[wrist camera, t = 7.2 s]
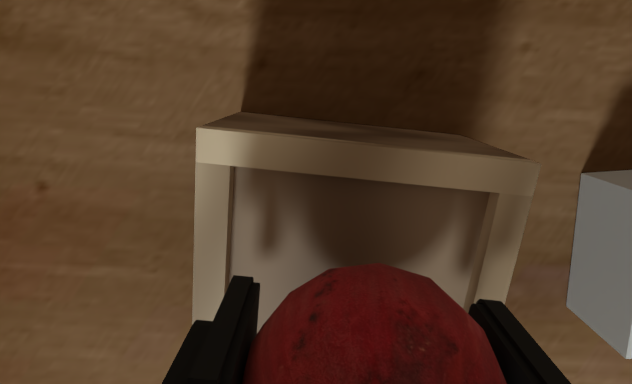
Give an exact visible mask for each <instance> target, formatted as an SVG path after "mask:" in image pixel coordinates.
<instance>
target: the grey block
mask: <svg viewBox="0 0 632 384" xmlns="http://www.w3.org/2000/svg"><path fill="white" fill-rule="evenodd" d="M566 306H567V307H568V308H569V309H570V310H571V311H572V312H574V313H575V314H576V315H577V316H578V317H579V318H580V319H581V320H583V321H584V322H585V323H586V324H587V325H588V326H589V327H590V328H592V329H593V330H594V331H595V332H596V333H597V334H598V335H599V336H601V337H602V338H603V339H604V340H605V341H606V342H607V343H608V344H610V345H611V346H612V347H613V348H614V349H615V350H616V351H617V352H619V353H620V354H621V355H622V356H623V357H624V358H625V359H632V170H621V171H606V172H591V173H581V180H580V189H579V198H578V206H577V215H576V224H575V233H574V242H573V250H572V259H571V268H570V277H569V285H568V294H567V303H566Z"/></svg>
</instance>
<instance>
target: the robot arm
mask: <svg viewBox="0 0 632 384" xmlns="http://www.w3.org/2000/svg"><path fill="white" fill-rule="evenodd" d="M259 296H260V283H256V282H254V278H253V277H248V276H238V275H233V277H232V279H231V282H230V284H229V286H228V288H227V291H226V293H225V295H224V297H223V300H222V302H221V304H220V306H219V309H218V311H217V313H216V315H215V318H214V320H213V321H206V320H195V322H194V323H193V325H192V327H191V329H190V331H189V333H188V334H187V336H186V338H185V340H184V342H183V344H182V346H181V348H180V350H179V352H178V354H177V355H176V357H175V359H174V361H173V363H172V365H171V367H170V369H169V371H168V373H167V375H166V377H165V378H164V380H163V382H162V384H242V379H243V374H244V370H245V366H246V362H247V358H248V354H249V349H250V345H251V343H252V341H253V340H254V338H255V336H256V335H257V324H258V310H259ZM468 314H469V315H470V316H471V317H472V318H473V319H474V320H475V321H476V322H477V323H478V324H479V325H480V326H481V327H482V328H483V330H484V332H485V334H486V336H487V338H488V341H489V343H490V345H491V347H492V350H493V352H494V354H495V356H496V359H497V361H498V363H499V366H500V368H501V371H502V373H503V376H504V378H505V380H506V383H507V384H571V383H570V382H569V381H568V379H567V378H566V377H565V376H564V375H563V373H562V372H561V371H560V370H559V369H558V368H557V366H556V365H555V364H554V363H553V362H552V360H551V359H550V358H549V357H548V356H547V355H546V353H545V352H544V351H543V350H542V349H541V347H540V346H539V345H538V344H537V343H536V342H535V340H534V339H533V338H532V337H531V336H530V334H529V333H528V332H527V331H526V330H525V328H524V327H523V326H522V325H521V324H520V323H519V321H518V320H517V319H516V318H515V317H514V315H513V314H512V313H511V312H510V311H509V310H508V308H507V307H506V306H505V305H504V304H503V303H502V302H501V301H496V300H486V299H479V300H478V301H477V302H476V304H475V303H473V304H471V306H470V308H469V312H468Z"/></svg>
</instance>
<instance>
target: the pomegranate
mask: <svg viewBox="0 0 632 384" xmlns="http://www.w3.org/2000/svg"><path fill="white" fill-rule="evenodd" d="M242 384H507V383H506V380H505V378H504V376H503V373H502V371H501V368H500V366H499V363H498V361H497V359H496V356H495V354H494V352H493V350H492V347H491V345H490V343H489V341H488V338H487V336H486V334H485V332H484V330H483V328H482V327H481V326H480V325H479V324H478V323H477V322H476V321H475V320H474V319H473V318H472V317H471V316H470V315H469V314H468V313H467V312H466V311H465V310H464V309H463V308H462V307H461V306H460V305H459V304H457V303H456V302H455V301H454V300H453V299H452V298H451V297H450V296H449V295H448V294H447V293H446V292H445V291H444V290H442V289H441V288H440V287H439V286H438V285H437V284H436V283H435V282H434V281H433V280H432V279H431V278H429V277H426V276H422V275H419V274H416V273H412V272H409V271H406V270H402V269H399V268H396V267H392V266H389V265H386V264H382V263H373V264H365V265H356V266H348V267H340V268H331V269H328V270H326V271H325V272H323V273H321V274H320V275H318V276H316V277H315V278H313V279H311V280H310V281H308V282H306V283H305V284H303V285H301V286H300V287H298V288H296V289H295V290H293V291H291V292H290V293H289V294H288V295H287V296H286V298H285V299H284V300H283V301H282V302H281V304H280V305H279V306H278V307H277V308H276V310H275V311H274V312H273V313H272V315H271V316H270V317H269V318H268V319H267V321H266V322H265V323H264V324H263V326H262V327H261V329H260V330H259V332H258V333H257V335H256V336H255V338H254V340H253V341H252V343H251V345H250V349H249V354H248V358H247V362H246V366H245V370H244V374H243V379H242Z"/></svg>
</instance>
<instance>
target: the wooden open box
mask: <svg viewBox="0 0 632 384" xmlns="http://www.w3.org/2000/svg"><path fill="white" fill-rule="evenodd" d="M540 168H541V163H538V162H535V161H533V160H530V159H527V158H524V157H521V156H518V155H516V154H513V153H510V152H507V151H504V150H501V149H499V148H496V147H493V146H490V145H487V144H485V143H482V142H479V141H476V140H473V139H470V138H468V137H465V136H462V135H456V134H446V133H437V132H427V131H418V130H408V129H399V128H389V127H380V126H370V125H361V124H351V123H342V122H333V121H323V120H314V119H304V118H295V117H285V116H276V115H266V114H257V113H247V112H238V113H236V114H233V115H230V116H227V117H225V118H222V119H219V120H216V121H214V122H211V123H208V124H205V125H203V126H200V127H197V128H196V173H195V218H194V264H193V309H192V325H193V323H194V322H195V320H206V321H213V320H214V318H215V315H216V313H217V311H218V309H219V306H220V304H221V302H222V300H223V297H224V295H225V293H226V291H227V288H228V286H229V284H230V282H231V279H232V277H233V275H238V276H248V277H253V278H254V282H256V283H260V296H259V310H258V324H257V333H258V332H259V330H260V329H261V327H262V326H263V324H264V323H265V322H266V321H267V319H268V318H269V317H270V316H271V315H272V313H273V312H274V311H275V310H276V308H277V307H278V306H279V305H280V304H281V302H282V301H283V300H284V299H285V298H286V296H287V295H288V294H289V293H290V292H291V291H293V290H295V289H296V288H298V287H300V286H301V285H303V284H305V283H306V282H308V281H310V280H311V279H313V278H315V277H316V276H318V275H320V274H321V273H323V272H325V271H326V270H328V269H331V268H340V267H348V266H356V265H365V264H373V263H382V264H386V265H389V266H392V267H396V268H399V269H402V270H406V271H409V272H412V273H416V274H419V275H422V276H426V277H429V278H431V279H432V280H433V281H434V282H435V283H436V284H437V285H438V286H439V287H440V288H441V289H442V290H444V291H445V292H446V293H447V294H448V295H449V296H450V297H451V298H452V299H453V300H454V301H455V302H456V303H457V304H459V305H460V306H461V307H462V308H463V309H464V310H465V311H466V312H467V313H468V312H469V308H470V306H471V304H473V303H475V304H476V302H477V301H478V300H479V299H486V300H496V301H501V302H502V303H503V304H505V300H506V297H507V293H508V289H509V285H510V282H511V278H512V274H513V270H514V266H515V263H516V259H517V255H518V251H519V247H520V244H521V240H522V236H523V232H524V228H525V225H526V221H527V217H528V213H529V209H530V206H531V202H532V198H533V194H534V190H535V187H536V183H537V179H538V175H539V171H540Z"/></svg>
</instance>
